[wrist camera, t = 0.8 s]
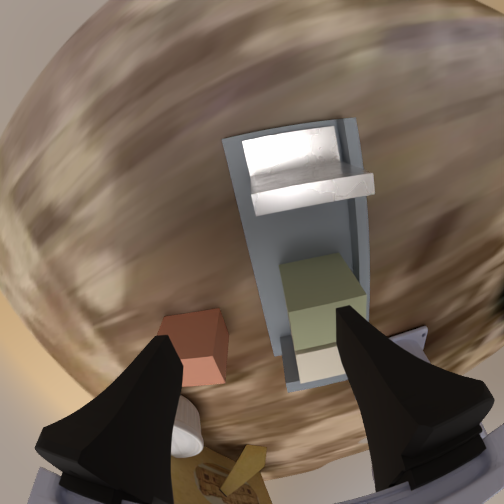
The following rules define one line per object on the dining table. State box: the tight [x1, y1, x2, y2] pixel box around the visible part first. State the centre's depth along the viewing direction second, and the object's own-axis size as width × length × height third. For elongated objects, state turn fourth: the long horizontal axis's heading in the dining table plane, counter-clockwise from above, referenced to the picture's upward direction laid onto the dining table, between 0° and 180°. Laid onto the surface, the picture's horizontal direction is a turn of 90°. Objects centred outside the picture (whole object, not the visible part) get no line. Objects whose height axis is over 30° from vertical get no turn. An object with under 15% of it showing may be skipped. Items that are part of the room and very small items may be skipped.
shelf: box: [222, 117, 370, 393], centre depth 17 cm, size 18×8×6 cm, turn 12°
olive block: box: [279, 253, 367, 351], centre depth 17 cm, size 3×4×6 cm
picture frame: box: [171, 445, 272, 504], centre depth 27 cm, size 23×9×15 cm, turn 34°
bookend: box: [242, 126, 375, 216], centre depth 14 cm, size 3×6×6 cm, turn 102°
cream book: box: [286, 306, 345, 383], centre depth 19 cm, size 3×4×6 cm
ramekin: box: [171, 395, 204, 458], centre depth 26 cm, size 11×11×5 cm
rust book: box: [157, 308, 229, 387], centre depth 20 cm, size 3×5×6 cm, turn 102°
